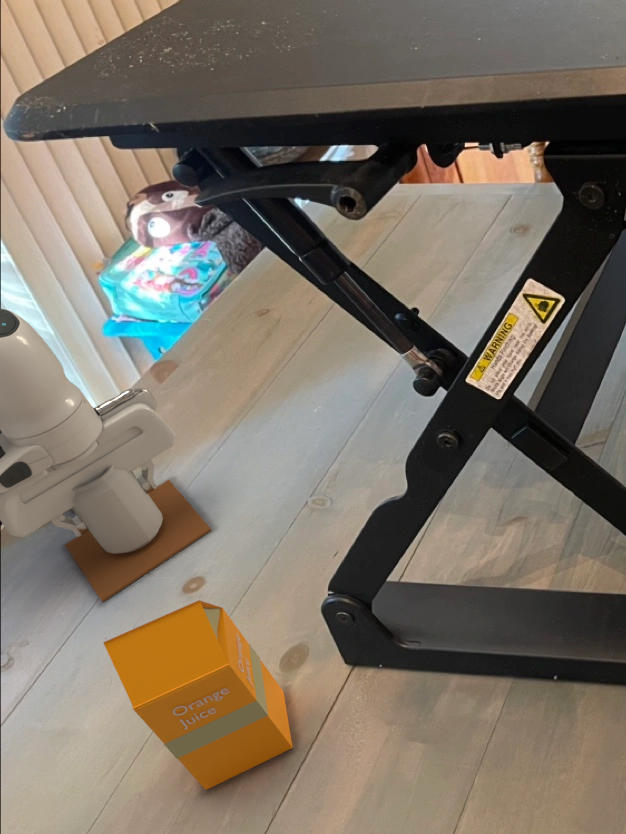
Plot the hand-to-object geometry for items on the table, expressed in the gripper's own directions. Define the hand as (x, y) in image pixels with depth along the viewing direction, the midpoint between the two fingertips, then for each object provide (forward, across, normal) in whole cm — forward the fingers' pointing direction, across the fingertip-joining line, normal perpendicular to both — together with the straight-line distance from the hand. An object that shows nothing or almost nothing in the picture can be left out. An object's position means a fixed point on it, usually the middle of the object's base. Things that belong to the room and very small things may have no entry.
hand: (116, 510), depth 131 cm
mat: (+5, 0, 0) cm, 5 cm away
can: (+5, 0, 0) cm, 5 cm away
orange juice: (+6, +3, +39) cm, 40 cm away
